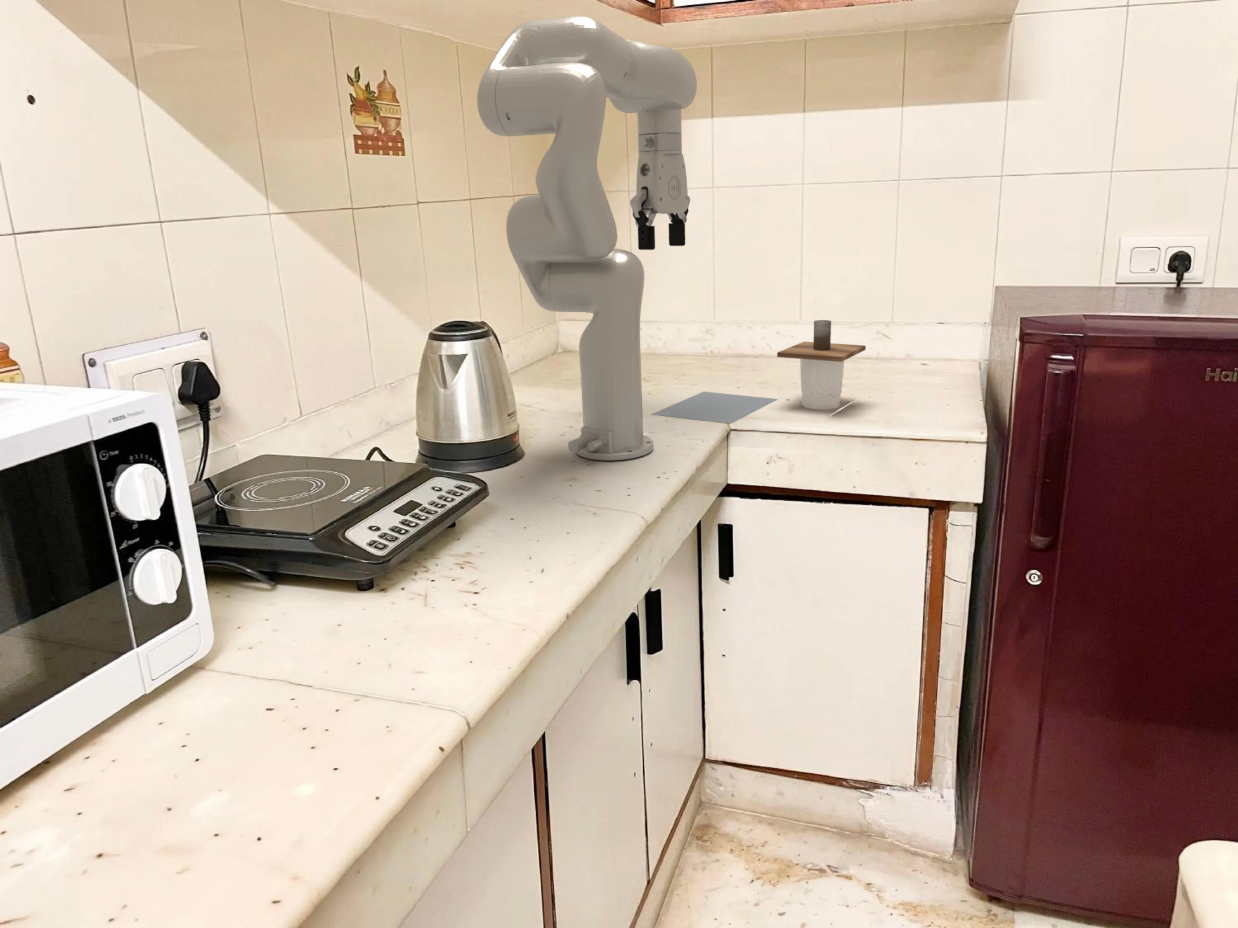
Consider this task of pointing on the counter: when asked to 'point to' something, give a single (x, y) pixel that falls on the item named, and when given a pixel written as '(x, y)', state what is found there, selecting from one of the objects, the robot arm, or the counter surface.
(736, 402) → the rubber mat
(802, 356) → the walnut cover
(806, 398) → the white cup
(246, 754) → the counter surface
